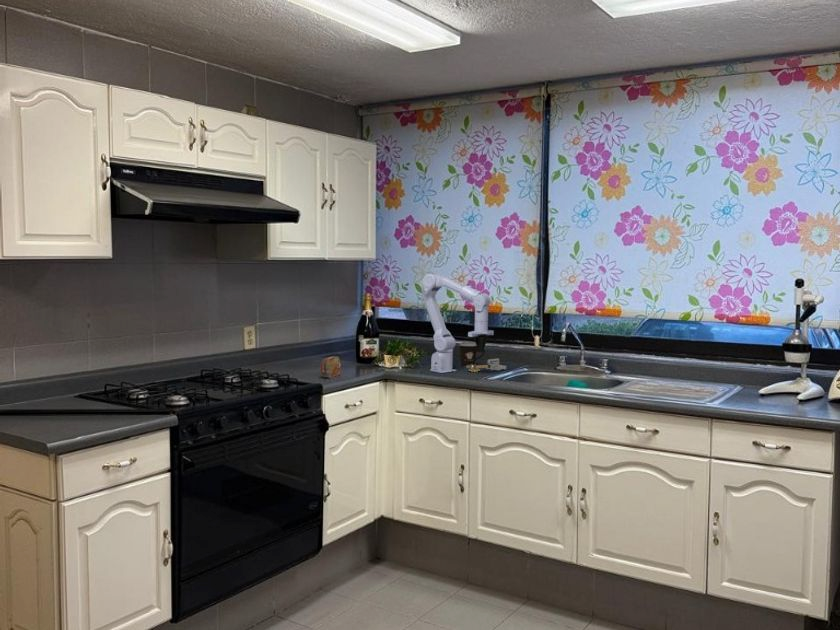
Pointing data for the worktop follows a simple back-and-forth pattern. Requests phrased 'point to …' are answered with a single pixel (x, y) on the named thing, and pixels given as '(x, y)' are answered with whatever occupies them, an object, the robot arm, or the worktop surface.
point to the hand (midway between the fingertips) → (480, 352)
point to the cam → (475, 367)
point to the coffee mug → (468, 354)
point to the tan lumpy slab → (331, 367)
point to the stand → (495, 364)
